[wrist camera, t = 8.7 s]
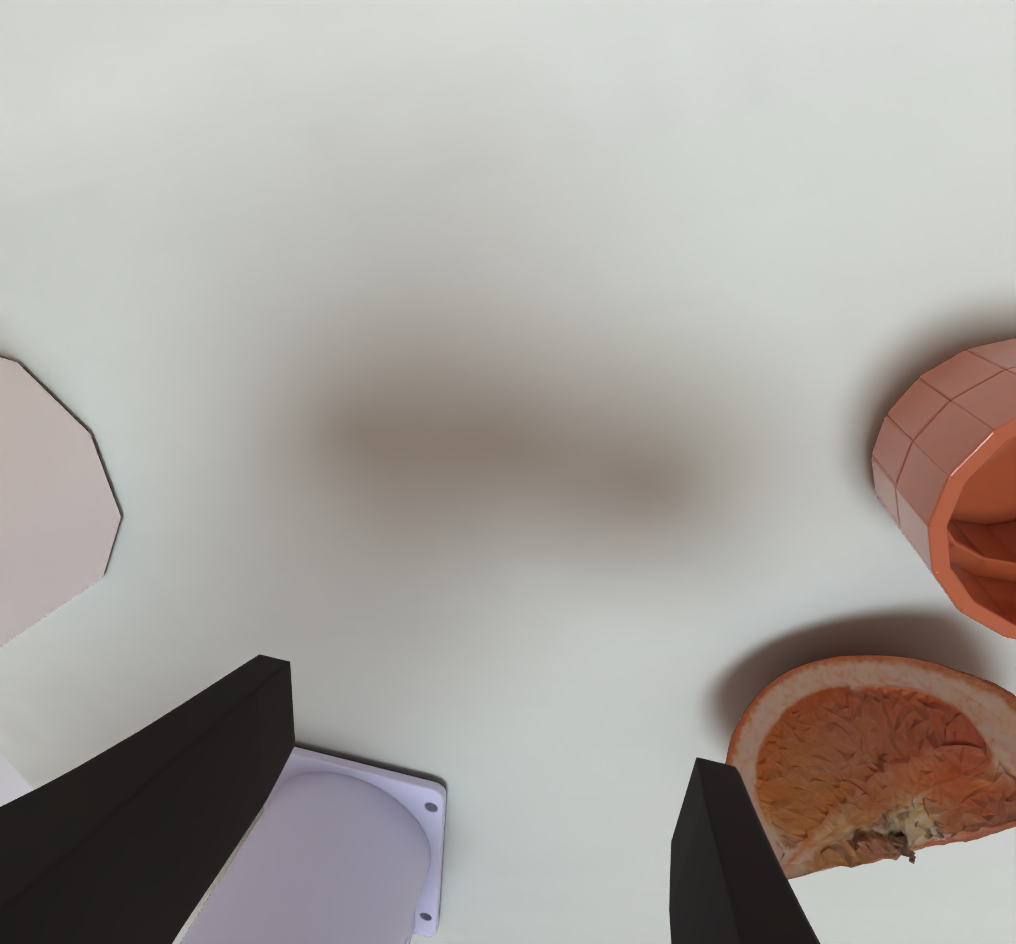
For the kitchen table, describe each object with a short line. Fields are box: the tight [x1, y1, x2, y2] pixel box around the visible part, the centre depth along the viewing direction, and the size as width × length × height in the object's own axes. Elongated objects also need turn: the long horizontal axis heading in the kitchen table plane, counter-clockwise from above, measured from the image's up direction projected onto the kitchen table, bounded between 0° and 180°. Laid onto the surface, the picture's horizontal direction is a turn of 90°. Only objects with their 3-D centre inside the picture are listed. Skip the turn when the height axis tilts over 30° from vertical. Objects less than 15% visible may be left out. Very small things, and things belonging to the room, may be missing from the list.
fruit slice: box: [725, 655, 1016, 880], centre depth 18 cm, size 8×7×5 cm
